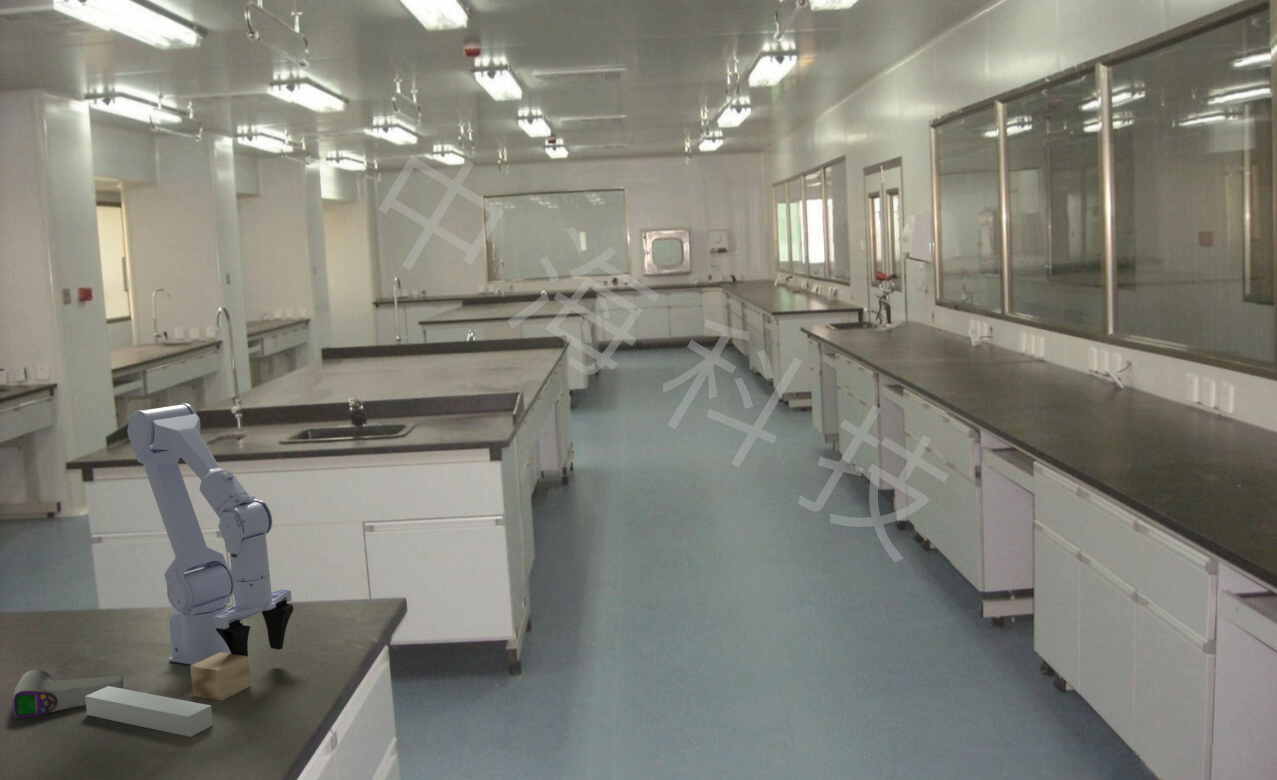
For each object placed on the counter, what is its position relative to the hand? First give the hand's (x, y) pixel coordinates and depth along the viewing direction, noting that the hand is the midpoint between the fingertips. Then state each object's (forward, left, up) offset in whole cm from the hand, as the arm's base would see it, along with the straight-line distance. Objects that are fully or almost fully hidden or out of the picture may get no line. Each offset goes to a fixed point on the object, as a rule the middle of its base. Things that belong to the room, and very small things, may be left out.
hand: (259, 656), depth 171 cm
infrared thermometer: (-23, -18, -3) cm, 29 cm away
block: (0, -8, -3) cm, 8 cm away
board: (-2, -20, -3) cm, 20 cm away
